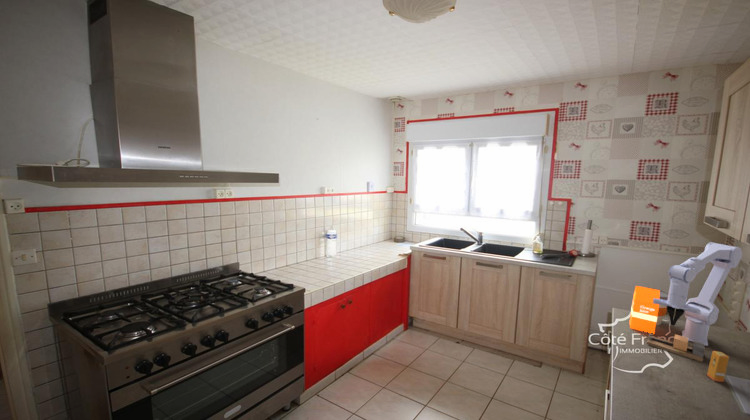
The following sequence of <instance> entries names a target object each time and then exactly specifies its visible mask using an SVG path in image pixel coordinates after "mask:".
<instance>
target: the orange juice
mask: <svg viewBox="0 0 750 420" xmlns="http://www.w3.org/2000/svg"><path fill="white" fill-rule="evenodd" d="M646 287H647V286H639V285H635V288H634V292H633V297H632V302H631V307H630V316H629V322H628V323H629V329H632V330H636V331H640V332H643V331H644V333H647V332H648V334H651V333H653V334H652V335H655V333H656V327H657V325H656V322H657V315H658V309H659V304H653V299H654V298H656V299H659V298H660V290H661V289H659V290H656V289H657V288H655V289H651V288H652V287H649V288H646Z"/></svg>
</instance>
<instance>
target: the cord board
mask: <svg viewBox="0 0 750 420" xmlns="http://www.w3.org/2000/svg"><path fill="white" fill-rule="evenodd" d="M673 343H674V341H671V340H667V339H665V338H661V337H657V336H655V335H653V334H651V333H648V336H647V341H646V345H647V344H648V345H647V346H650V345H651V347H653V346H654V347H653V348H658V349H660V350H662V351H667V352H669V353H673V354H677V355H679V356H682V357H685V358H687V359H692V360H696V361H698V362H702V363H703V362H704V354H705V350H706V348H705V345H704V343H701V342H698V341H694V342H692V344H693V345H692V347H691V346H689V345H688V346H687V351H683V350H680V349H676V348H673V345H674V344H673Z"/></svg>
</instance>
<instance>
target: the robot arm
mask: <svg viewBox="0 0 750 420" xmlns="http://www.w3.org/2000/svg"><path fill="white" fill-rule="evenodd" d="M742 258H743V251H742V249H741V247H740V246H732V245H728V244H723V243H717V242H714V241H710V242H708V243H707V244H706V245H705V247H704V251H702V253H700V254H699V255H698V256H695V257H693V256H692V257H690V258H688V259H687V260H685V261H683V262H682V263H681V264H679V265H678V264H675V265H672V266H671V267H670V268H669V270H668V272H667V273H668V274H667V275H668V278H669V279H668V281H669V289H668V293H669V294H668V300H662V299H656V298H654V299H653V304H660V305H664V306H667V313H668V315H669V321H670V325H671V326H676V324H677V322H678V320H679V319H680V318H681V317H682V316H683V315H684V318H686V320H685V325H684V330H682V331H681V332H682V333H681V336H683V337H687V338H688V342H692V343H694V341H698V342H701V343H704V345H705V346H706V347H708V346H709V342H708V335H709V329H710V325H713V324H715V323H716V322H717V319H718V316H719V313H720V310H719V308H718V307H717V306H716V304H715V303H714V302H715V300H716V299H717V297H718V294H719V293H720V290H721V288H722V287H723V285H724V283H725V281H726V279H727V278H728V276H729V273H730V271H731V269H734V268H737V266H738V265H739V263H740V262H741V260H742ZM709 263H711V264H713V267H712V269H711V271H710V272H709V275H708V277H707V278H706V281H705V282H704V284H703V286H702V289H701V290H700V292H699V294H698V296H697V297H691V298H688V295H689V294H688V293H689V288H690V283H691V282H693V281H694V279H695V278H696V276H697V274H699V273H700V272H701V271H703V270H704V269H705V268H706V264H709Z"/></svg>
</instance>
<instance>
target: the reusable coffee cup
mask: <svg viewBox="0 0 750 420" xmlns="http://www.w3.org/2000/svg"><path fill="white" fill-rule="evenodd" d="M645 287H646V288H651V289H656V290H660V298H659V299H662V300H668V294H669V292H668V291H664V290H661V289H658V288H654V287H647V286H645ZM667 313H668V311H667V306H664V305H660V304H659V309H658V315H657V322H656V326H660V325H662V323H663V319H664V316H666V314H667Z"/></svg>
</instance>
